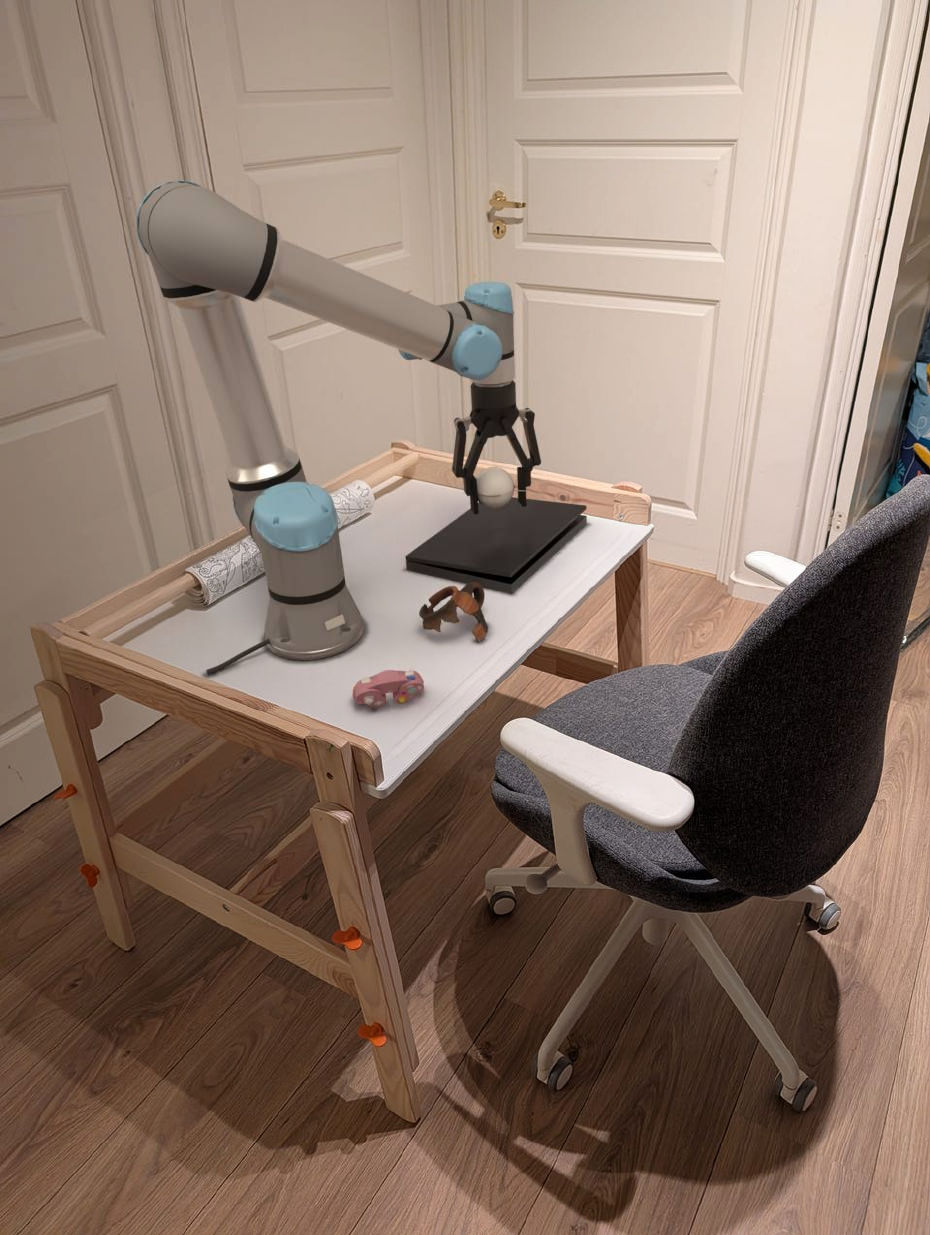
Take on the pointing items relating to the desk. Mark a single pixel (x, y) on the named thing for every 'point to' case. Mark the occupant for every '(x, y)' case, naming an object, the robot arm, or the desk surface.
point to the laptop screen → (497, 536)
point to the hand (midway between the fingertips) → (498, 507)
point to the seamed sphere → (494, 487)
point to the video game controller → (388, 687)
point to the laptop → (499, 581)
